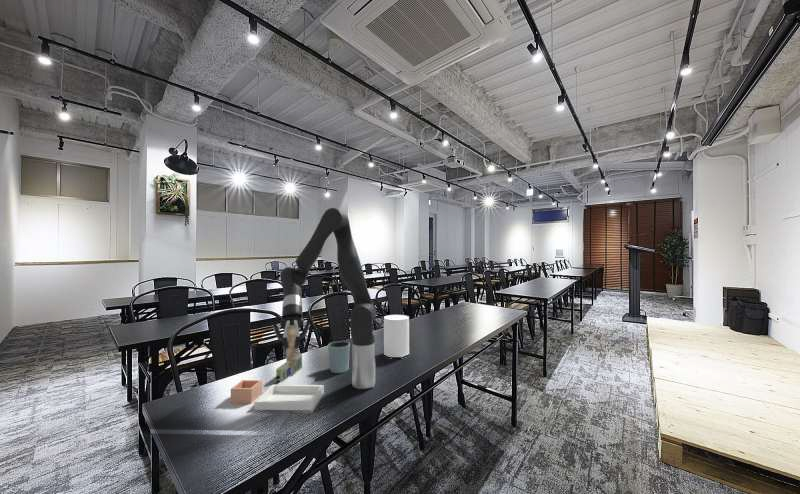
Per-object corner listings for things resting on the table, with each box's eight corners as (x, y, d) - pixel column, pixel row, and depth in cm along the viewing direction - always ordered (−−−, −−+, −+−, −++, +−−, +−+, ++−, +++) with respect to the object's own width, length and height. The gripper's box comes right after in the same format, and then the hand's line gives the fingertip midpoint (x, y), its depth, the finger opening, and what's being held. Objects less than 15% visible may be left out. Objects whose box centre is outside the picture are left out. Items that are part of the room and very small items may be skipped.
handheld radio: (303, 367, 144) (275, 391, 119) (297, 367, 145) (267, 391, 120) (303, 353, 144) (274, 374, 120) (296, 353, 145) (267, 374, 120)
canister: (382, 358, 156) (382, 319, 156) (385, 350, 169) (385, 314, 170) (409, 358, 155) (408, 319, 156) (409, 350, 169) (409, 314, 169)
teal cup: (343, 375, 135) (343, 348, 135) (323, 372, 138) (323, 345, 138) (353, 366, 144) (353, 341, 145) (335, 364, 148) (335, 339, 148)
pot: (261, 396, 115) (262, 380, 115) (251, 406, 107) (251, 389, 108) (242, 395, 115) (242, 380, 115) (230, 405, 108) (230, 388, 108)
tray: (323, 394, 116) (323, 385, 116) (312, 413, 102) (312, 402, 102) (272, 393, 117) (272, 384, 117) (254, 412, 103) (254, 402, 103)
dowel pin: (297, 363, 112) (297, 325, 112) (293, 366, 108) (294, 327, 109) (288, 362, 112) (288, 324, 112) (285, 366, 109) (285, 327, 109)
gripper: (272, 303, 115) (269, 345, 104) (311, 302, 120) (311, 341, 108) (273, 315, 120) (270, 355, 109) (310, 313, 125) (311, 351, 113)
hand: (291, 348), depth 108 cm, fingers closed on dowel pin, 3 cm apart
